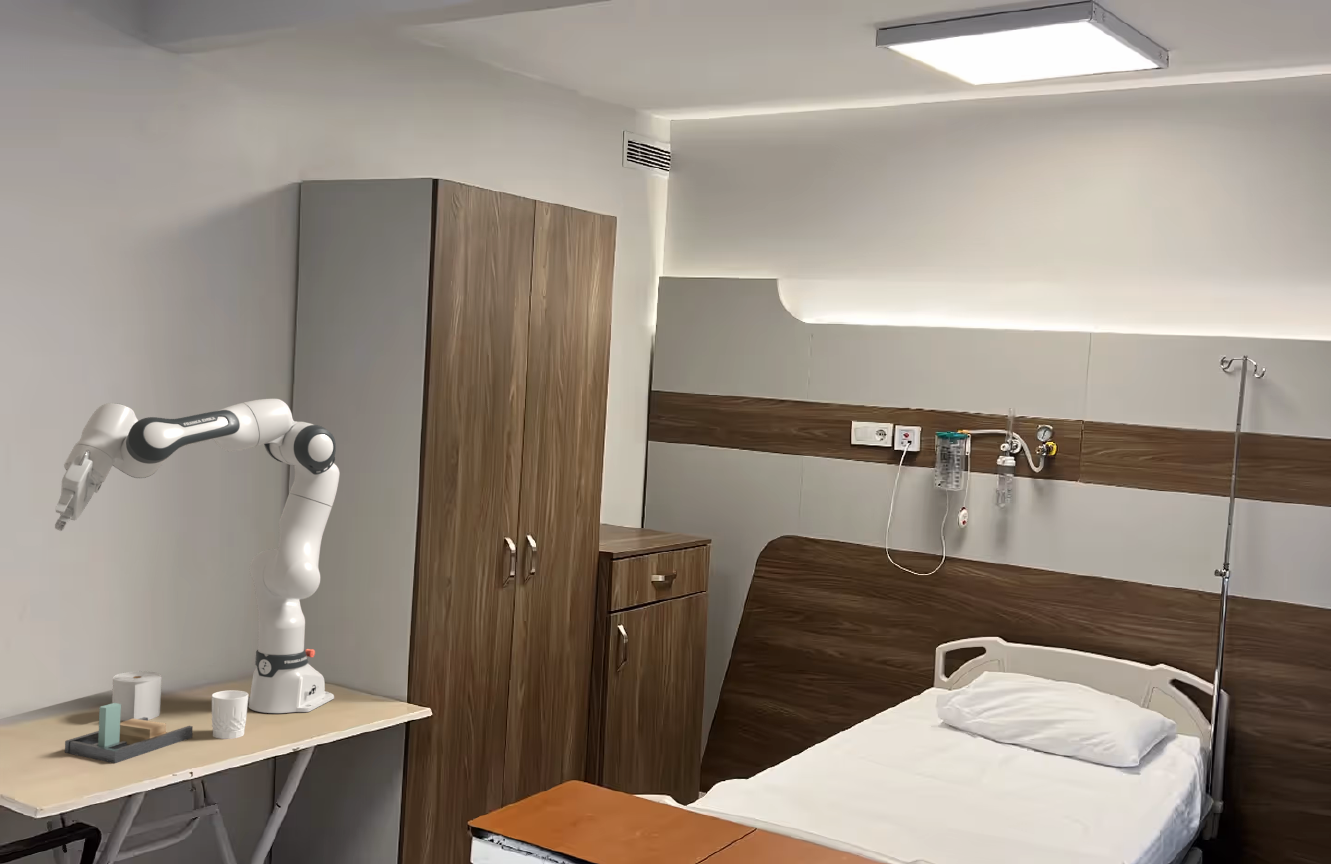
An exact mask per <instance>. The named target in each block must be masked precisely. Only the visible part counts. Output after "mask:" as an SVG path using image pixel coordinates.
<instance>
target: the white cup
mask: <svg viewBox="0 0 1331 864" xmlns="http://www.w3.org/2000/svg"><path fill="white" fill-rule="evenodd" d="M248 697H249V693H248V692H247V691H244V690H237V689H235V690H233V689H231V690H221V691H217V692H214V693H212V694H211V723H212V724H211V727H212V737H213V738H216V739H220V740H221V739H222V740H224V739H225V740H230V739H238V738H241V737H243V736H244V735H245V727H246V723H247V715H248V706H249V703H248Z"/></svg>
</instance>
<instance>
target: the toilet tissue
mask: <svg viewBox="0 0 1331 864" xmlns="http://www.w3.org/2000/svg"><path fill="white" fill-rule="evenodd" d="M162 676H163V675H162V674H160V673H159V672H156V671H148V670H147V671H146V670H145V671H143V670H137V671H127V672H121V673H117V674H115V675H114V676H113V677H112V688H111V689H112V696H111V704H112V703H118V704H121V714H120V721H121V722H124V721H127V720H130V719H140V718H143V717H147V718H148V721H151V720H152V719H156V718H157V717H159V716H160V715H161V699H162Z"/></svg>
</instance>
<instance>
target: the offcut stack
mask: <svg viewBox="0 0 1331 864" xmlns="http://www.w3.org/2000/svg"><path fill="white" fill-rule="evenodd" d="M166 730H167V723H165V722H158V721H153V720H148V721H146V720H139V719H130V720H127V721H120V739H119V742H122V741H125V742H127V744H129V745H131V744H134V743H137V742H140V741H143V740H146V739H149V738H153V737H156V736H159V735H162V734H165V733H168V731H166Z"/></svg>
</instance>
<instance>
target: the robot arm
mask: <svg viewBox="0 0 1331 864" xmlns="http://www.w3.org/2000/svg"><path fill="white" fill-rule="evenodd" d="M208 441H213V442H214V443H215V444H216V446H218V447H219V448H220V449H222V450H224V451H225V452H226V451H227V452H238V451H244V450H249V449H252V448H256V447H259V446H261V445H264V448H265V451H266V452H267V453H268V455H269V456H270V457H271V458H272V459H274V460H275V461H277V462H280V463H284V464H287V465H289V466H293V467H294V479H293V483H292V485H291V487H290V490H289V494H288V496H287V498H286V500H285V504H284V507H283V510H282V513H281V516H280V518H279V521H278V527H279V540H278V546H277V547H278V548H271V549H270V548H268V549H264V550H262V551H260V552H258V553H257V554H256V555H254V556H253V558H252V560H251V561H250V564H249V575H250V577H251V579H252V582H253V586H254V594H255V600H256V606H257V607H256V608H257V612H258V635H257V636H258V640H257V641H258V642H257V649H256V652H255V655H254V659H255V662H254V663H255V664H254V665H255V666H256V668H255V669H254V670H253V674H252V680H251V686H250V687H251V688H250V695H249V696H248V705H247V708H249V709H250V710H252V711H255V712H259V713H265V714H267V713H268V714H286V713H287V714H288V713H308V712H311V711H313V710H315V709H317V708H319V707H321V706H323V705H324V704H326V703H328V702H330V701H332V700H334V699H335V695H334V694H333V693H331V692H330V691H325V690H326V686H325V685H326V684H325V678H324V676H323V674H322V673H320V672H319V671H318V670H316V669H315V668H314V667H313V666H311V664H310V663H309V659H308V658H314V657H315V655H316V650H315V649H313V648H312V649H311V648H310V649H309V648H307V649H305V636H306V635H305V631H306V630H305V629H306V617H305V615H304V613H303V611H302V607H301V606H302V605H301V602H300V600H304V599H308V598H310V597H311V596H312V595H314V594H315V592H316V591H317V590H318V589H319V586H320V584H321V572H320V570H319V562H320V552H321V545H322V540H323V539H322V538H323V534H324V532H325V528H326V527H327V523H328V519H329V517H330V514H331V511H332V508H333V506H334V502H335V498H336V495H337V492H338V486H339V481H340V474H341V473H340V469H339V467H338V466H337V465H336V463H335V460H336V457H335V456H336V450H337V445H336V440H335V436H334V435H333V433H331V431H329V430H328V429H327V428H325V427H323V426H322V425H318V424H313V423H310V422H305V421H295V420H294V419H293V414H292V411H291V409H290V407H289V405H288V404H287V403H286V402H285V401H283V400H282V399H279V398H263V399H262V398H261V399H254V400H249V401H245V402H240V403H236V404H233V405H229V406H227V407H224V408H221V409H217V410H214V411H209V412H205V413H204V412H203V413H199V414H194V415H189V416H183V417H178V418H165V417H164V418H163V417H154V416H152V417H151V416H150V417H144V418H142V419H138V418H137V416H136V414H135V411H134V410H133V409H132V408H131V407H129V406H126V405H125V404H121V403H116V402H110V403H109V402H108V403H104V404H102V405H101V406H99V407H97V408H96V410H95V411H94V413H92V415H91V416H90V418H89V420H88V421H87V422H86V424H85V426H84V428H83V430H82V432H81V437H80V439H79V440H78V441H77V443H75V445H74V446H73V447H72V449H71V451H70V453H69V454H68V457H67V458H66V460H65V462H64V464H63V467H64V469H65V470H66V471H65V473H64V474H63V477H62V480H61V491H60V493H61V494H60V497H59V500H58V502H57V504H56V506H55V513H57V514H60V516H59V518H57V520H56V522H55V524H54V529H55V530H56V531H60V532H62V531H64V529H65V527H66V526H67V525H68V523H69V522H70V521H77V520H78V519H79V518H80V517H81V515H82V513H83V512H84V511H85V509H86V507H87V506H88V503H89V502H90V501H91V499H92V497H94V493H96V494H97V493H99V491H100V489H101V487H102V484H103V483H104V482H105V481H106V479H107V476H108V474H110V471H111V470H112V467H114V468H115V469H117V470H119V471H120V472H121V473H124V474H125V475H127V476H129V477H132V478H135V479H145V478H148V477H150V476H153V475H154V474H155V473H156V472H157V471H158V470H159V469H160V468H161V466H163V464H164V463H165V462H166V460H167V459H168V458H169V457H171V456H172V455H173V454H174V453H175V452H176V451H177V450H178V449H180V448H183V447H187V446H190V445H195V444H199V443H200V444H201V443H205V442H208Z"/></svg>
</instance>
